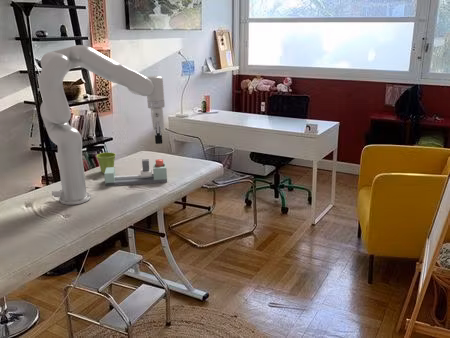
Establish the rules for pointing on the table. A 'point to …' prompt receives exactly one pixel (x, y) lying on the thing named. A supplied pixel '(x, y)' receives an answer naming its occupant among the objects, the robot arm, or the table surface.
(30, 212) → the table surface
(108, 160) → the plant pot
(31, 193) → the table surface
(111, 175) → the rail track
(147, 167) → the carriage
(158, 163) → the button
